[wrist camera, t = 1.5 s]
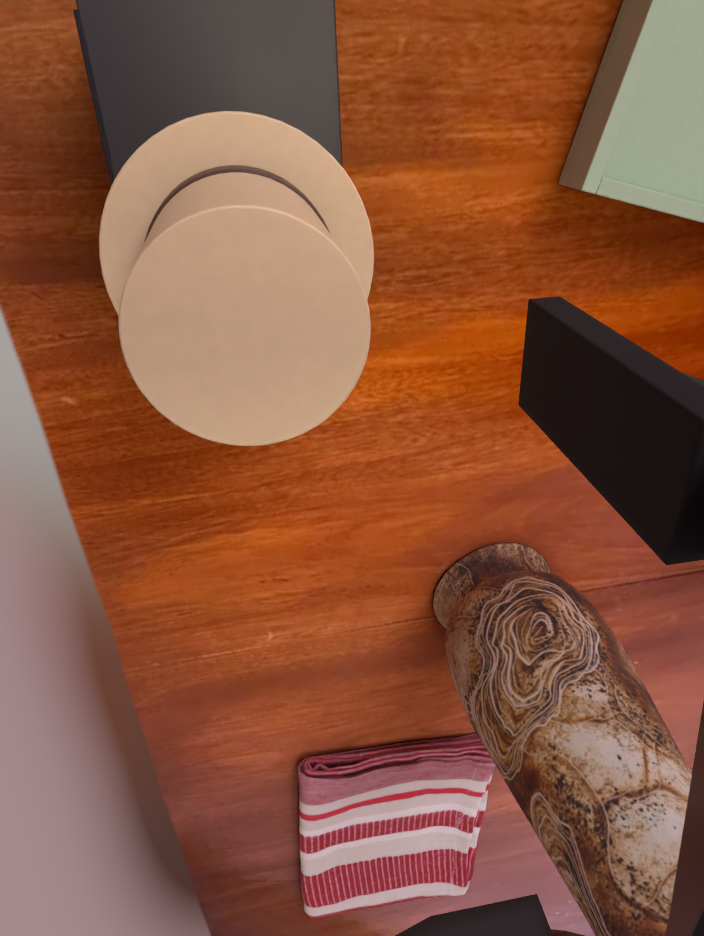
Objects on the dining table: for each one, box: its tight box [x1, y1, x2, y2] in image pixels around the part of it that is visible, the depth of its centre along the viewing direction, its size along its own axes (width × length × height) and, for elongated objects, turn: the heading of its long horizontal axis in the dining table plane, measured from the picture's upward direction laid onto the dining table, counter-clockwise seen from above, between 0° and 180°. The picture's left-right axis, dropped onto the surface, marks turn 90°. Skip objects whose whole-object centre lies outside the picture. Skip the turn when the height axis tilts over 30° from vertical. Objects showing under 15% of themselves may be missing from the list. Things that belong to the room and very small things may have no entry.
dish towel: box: [298, 734, 496, 919], centre depth 58 cm, size 17×23×3 cm
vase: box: [433, 543, 692, 936], centre depth 34 cm, size 10×11×30 cm
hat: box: [99, 111, 374, 446], centre depth 21 cm, size 10×10×9 cm
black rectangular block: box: [74, 0, 342, 185], centre depth 27 cm, size 14×8×8 cm, turn 2°
